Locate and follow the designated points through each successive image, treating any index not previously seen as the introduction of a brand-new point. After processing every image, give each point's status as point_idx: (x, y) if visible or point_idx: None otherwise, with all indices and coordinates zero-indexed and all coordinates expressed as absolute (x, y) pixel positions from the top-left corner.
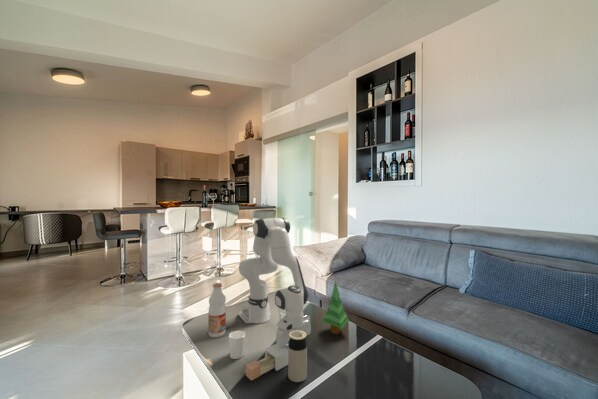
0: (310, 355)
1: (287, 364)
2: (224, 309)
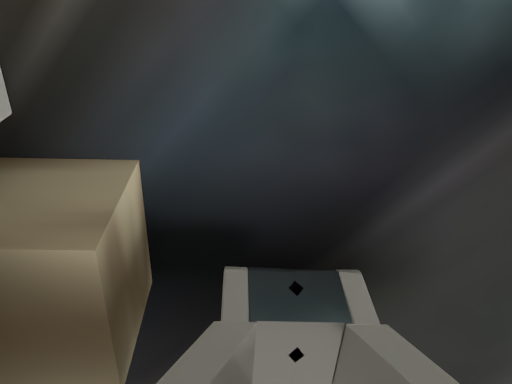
0: None
1: None
2: None
